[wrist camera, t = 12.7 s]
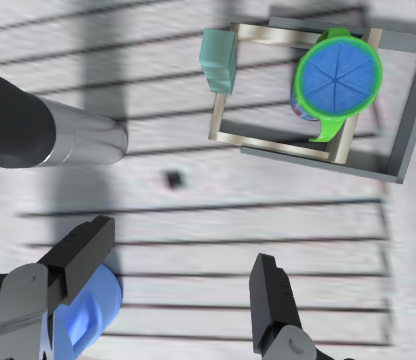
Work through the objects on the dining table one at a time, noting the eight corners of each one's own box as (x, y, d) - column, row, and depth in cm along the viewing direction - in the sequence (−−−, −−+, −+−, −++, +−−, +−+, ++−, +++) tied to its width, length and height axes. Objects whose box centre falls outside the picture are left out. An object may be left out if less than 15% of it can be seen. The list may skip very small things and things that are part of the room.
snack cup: (289, 49, 38) (307, 10, 28) (353, 54, 36) (397, 15, 26) (273, 140, 39) (285, 133, 29) (334, 148, 38) (368, 144, 28)
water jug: (51, 306, 50) (-183, 492, 22) (68, 245, 47) (-167, 367, 20) (111, 335, 48) (-58, 573, 21) (132, 274, 46) (-26, 449, 18)
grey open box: (204, 138, 41) (186, 127, 26) (225, 28, 38) (218, -49, 24) (331, 163, 38) (387, 165, 24) (362, 46, 36) (445, -28, 21)
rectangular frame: (240, 152, 40) (240, 152, 37) (267, 27, 38) (270, 16, 35) (389, 182, 37) (402, 184, 34) (430, 48, 35) (448, 37, 32)
